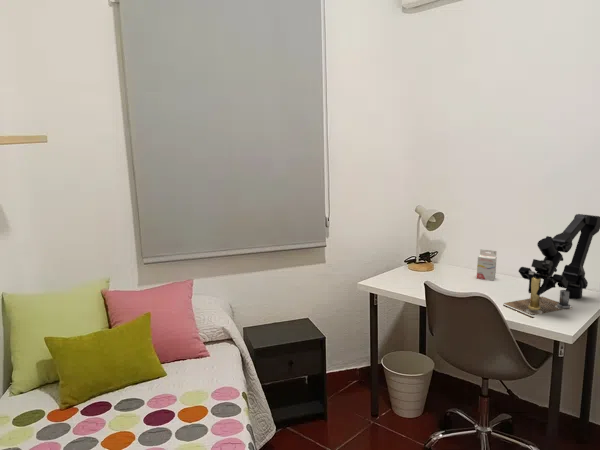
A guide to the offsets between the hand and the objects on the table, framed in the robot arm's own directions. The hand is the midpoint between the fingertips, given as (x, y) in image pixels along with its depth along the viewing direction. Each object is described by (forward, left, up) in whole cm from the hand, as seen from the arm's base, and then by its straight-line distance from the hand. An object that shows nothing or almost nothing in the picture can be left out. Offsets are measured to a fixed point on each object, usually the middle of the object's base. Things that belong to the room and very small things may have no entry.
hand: (533, 293), depth 199 cm
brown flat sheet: (-8, -5, -9) cm, 13 cm away
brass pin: (-1, 0, -7) cm, 7 cm away
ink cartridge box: (-19, -49, -9) cm, 54 cm away
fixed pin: (-16, +1, -8) cm, 18 cm away
